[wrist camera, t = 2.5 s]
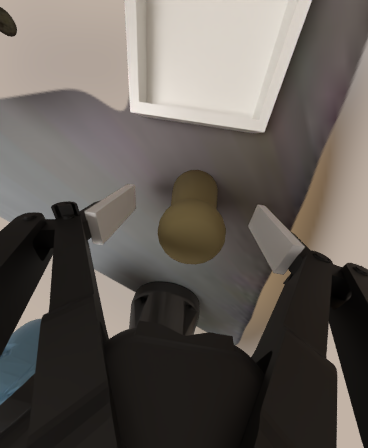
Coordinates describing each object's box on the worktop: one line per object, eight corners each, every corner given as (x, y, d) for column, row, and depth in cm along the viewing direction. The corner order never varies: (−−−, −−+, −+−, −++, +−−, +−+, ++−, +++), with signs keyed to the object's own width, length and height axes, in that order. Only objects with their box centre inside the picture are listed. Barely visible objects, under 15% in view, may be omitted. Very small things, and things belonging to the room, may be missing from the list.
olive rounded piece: (212, 216, 20) (223, 281, 11) (171, 210, 21) (148, 270, 11) (222, 172, 17) (249, 213, 8) (173, 167, 18) (144, 199, 8)
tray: (253, 133, 15) (264, 132, 12) (142, 116, 15) (130, 111, 13) (339, -131, 8) (403, -254, 6) (136, -157, 8) (108, -288, 6)
